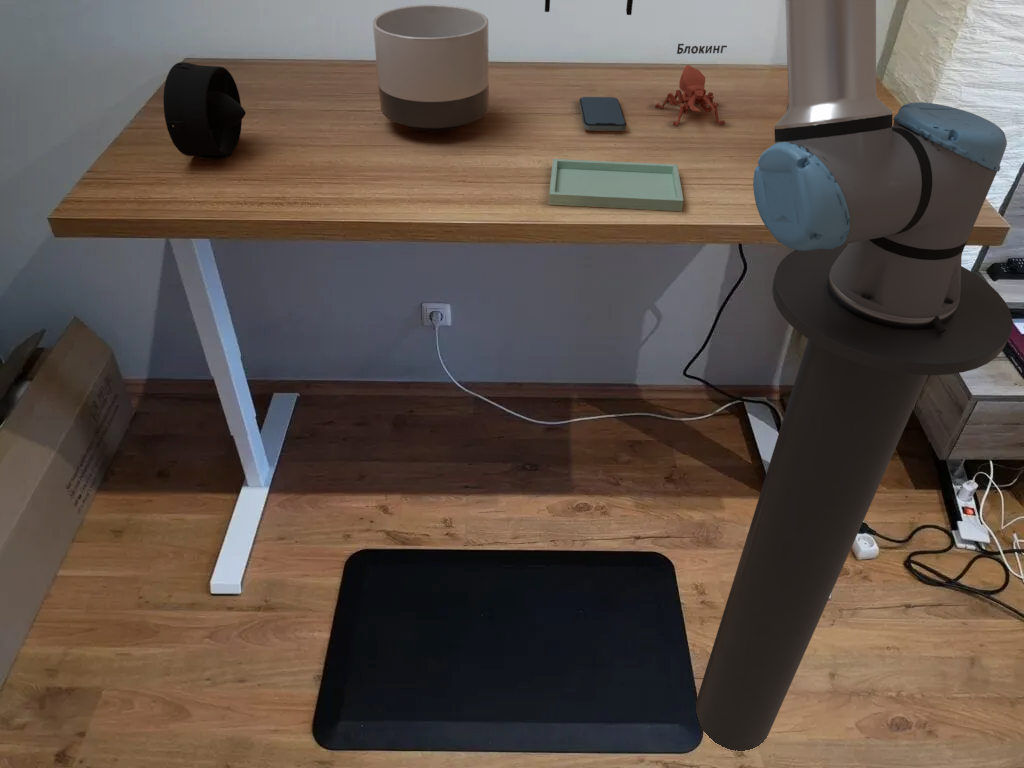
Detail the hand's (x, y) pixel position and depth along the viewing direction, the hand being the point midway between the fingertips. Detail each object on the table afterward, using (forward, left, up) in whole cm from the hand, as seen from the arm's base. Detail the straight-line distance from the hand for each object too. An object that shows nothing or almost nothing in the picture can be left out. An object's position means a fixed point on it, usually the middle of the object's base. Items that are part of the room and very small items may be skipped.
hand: (587, 11), depth 134 cm
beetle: (+6, -21, -19) cm, 29 cm away
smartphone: (+3, -4, -19) cm, 20 cm away
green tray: (-26, -6, -19) cm, 33 cm away
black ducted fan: (-20, +59, -19) cm, 65 cm away
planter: (-3, +26, -19) cm, 33 cm away
